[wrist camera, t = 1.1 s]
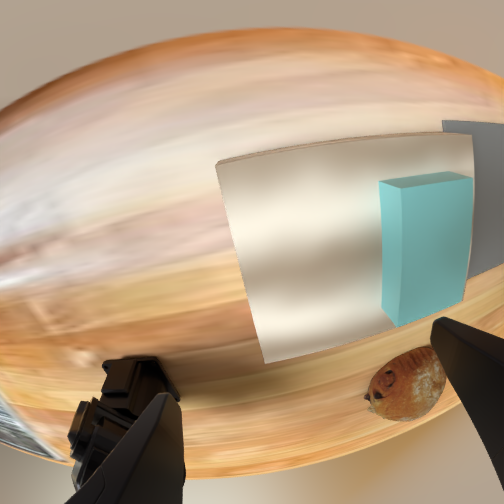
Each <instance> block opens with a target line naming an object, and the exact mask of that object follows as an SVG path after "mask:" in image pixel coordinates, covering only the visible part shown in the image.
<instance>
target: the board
mask: <svg viewBox="0 0 504 504" xmlns="http://www.w3.org/2000/svg"><path fill="white" fill-rule="evenodd" d="M215 168H216V172H217V176H218V181H219V185H220V189H221V193H222V197H223V201H224V205H225V210H226V214H227V218H228V222H229V226H230V230H231V234H232V238H233V242H234V246H235V250H236V254H237V258H238V262H239V266H240V270H241V274H242V278H243V282H244V286H245V289H246V293H247V297H248V301H249V305H250V309H251V313H252V316H253V320H254V324H255V328H256V332H257V336H258V339H259V343H260V347H261V351H262V354H263V358H264V362H265V364H267V363H272V362H277V361H281V360H286V359H290V358H294V357H299V356H303V355H307V354H311V353H315V352H319V351H322V350H326V349H330V348H333V347H337V346H341V345H344V344H347V343H351V342H354V341H357V340H361V339H364V338H367V337H370V336H373V335H376V334H379V333H382V332H385V331H388V330H391V329H394V328H396V326H395V325H394V323H393V322H392V321H391V319H390V318H389V317H388V315H387V314H386V313H385V312H384V310H383V309H382V308H381V302H382V226H381V208H380V195H379V183H378V181H382V180H388V179H395V178H401V177H408V176H415V175H423V174H430V173H438V172H446V171H450V172H454V173H458V174H461V175H465V176H468V177H472V178H473V213H472V230H471V241H470V251H469V259H468V266H467V273H466V279H465V285H464V290H463V295H462V300H461V301H463V297H464V292H465V286H466V281H467V275H468V268H469V261H470V254H471V245H472V235H473V221H474V194H475V182H474V155H473V142H472V135H469V134H458V133H446V132H422V133H402V134H387V135H375V136H364V137H355V138H346V139H338V140H330V141H323V142H316V143H309V144H303V145H296V146H290V147H285V148H279V149H274V150H268V151H263V152H258V153H253V154H248V155H244V156H239V157H235V158H230V159H226V160H221V161H218V163H217V164H216V165H215Z"/></svg>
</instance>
